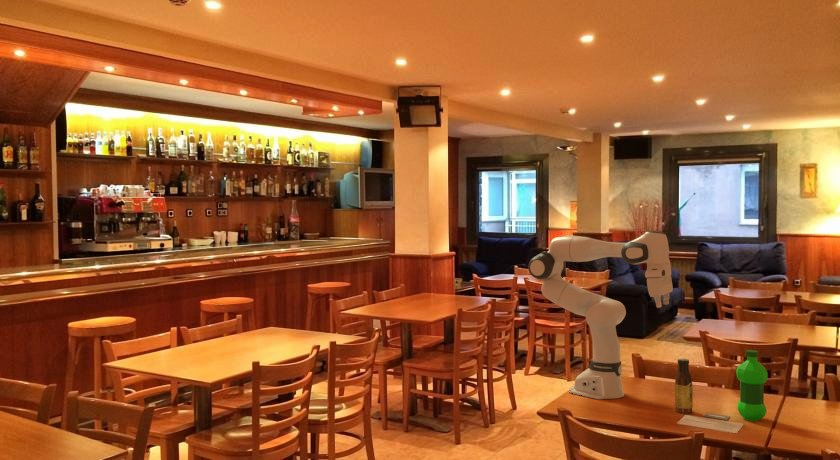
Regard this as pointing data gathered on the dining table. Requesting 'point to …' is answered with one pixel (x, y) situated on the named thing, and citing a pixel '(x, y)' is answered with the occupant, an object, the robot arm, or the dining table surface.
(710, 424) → the paper
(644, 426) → the dining table surface
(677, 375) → the sauce bottle
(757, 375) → the plastic bottle
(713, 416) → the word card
